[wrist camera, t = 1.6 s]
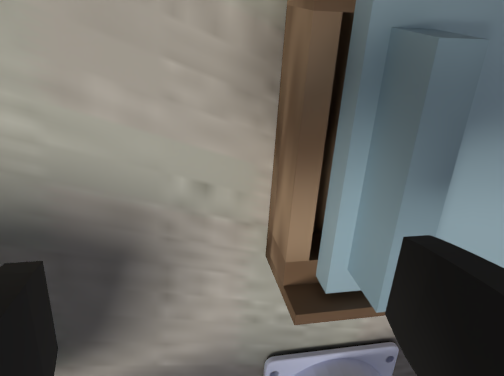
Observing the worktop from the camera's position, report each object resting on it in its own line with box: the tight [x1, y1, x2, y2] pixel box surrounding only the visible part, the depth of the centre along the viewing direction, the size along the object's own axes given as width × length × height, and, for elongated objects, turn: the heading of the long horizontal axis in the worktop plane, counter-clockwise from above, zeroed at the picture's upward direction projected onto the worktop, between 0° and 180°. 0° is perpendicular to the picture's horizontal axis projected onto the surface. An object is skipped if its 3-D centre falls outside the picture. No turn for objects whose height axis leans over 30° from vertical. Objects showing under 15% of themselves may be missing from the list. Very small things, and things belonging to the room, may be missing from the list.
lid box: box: [266, 0, 385, 325], centre depth 18 cm, size 13×15×5 cm
